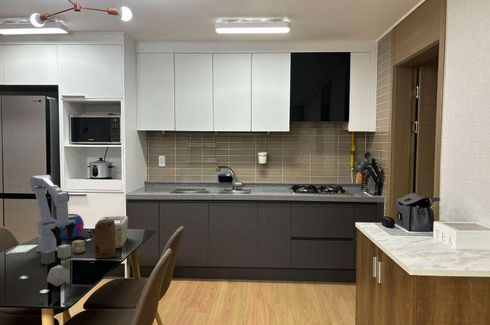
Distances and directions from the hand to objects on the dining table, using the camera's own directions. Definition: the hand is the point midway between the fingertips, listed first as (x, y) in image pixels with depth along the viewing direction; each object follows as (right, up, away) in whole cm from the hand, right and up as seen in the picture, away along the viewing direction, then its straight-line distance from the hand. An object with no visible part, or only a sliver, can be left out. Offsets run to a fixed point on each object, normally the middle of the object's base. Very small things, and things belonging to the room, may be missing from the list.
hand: (64, 239), depth 197 cm
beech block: (+3, -9, +10) cm, 14 cm away
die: (+16, -12, -37) cm, 42 cm away
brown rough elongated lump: (+22, -10, 0) cm, 24 cm away
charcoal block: (-4, -10, -9) cm, 14 cm away
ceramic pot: (-16, -8, +38) cm, 42 cm away
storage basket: (+17, -8, +26) cm, 32 cm away
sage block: (0, -10, +1) cm, 10 cm away
